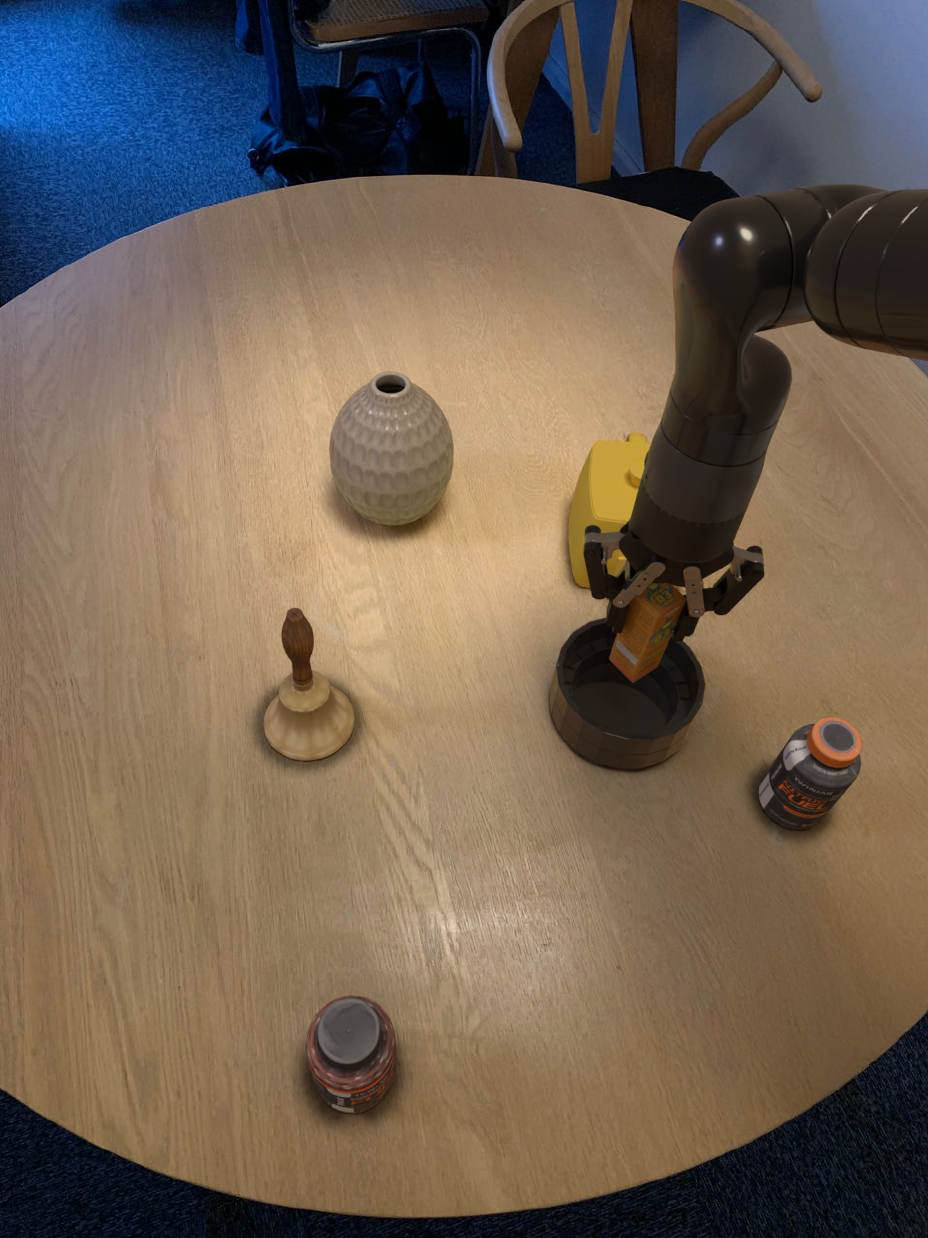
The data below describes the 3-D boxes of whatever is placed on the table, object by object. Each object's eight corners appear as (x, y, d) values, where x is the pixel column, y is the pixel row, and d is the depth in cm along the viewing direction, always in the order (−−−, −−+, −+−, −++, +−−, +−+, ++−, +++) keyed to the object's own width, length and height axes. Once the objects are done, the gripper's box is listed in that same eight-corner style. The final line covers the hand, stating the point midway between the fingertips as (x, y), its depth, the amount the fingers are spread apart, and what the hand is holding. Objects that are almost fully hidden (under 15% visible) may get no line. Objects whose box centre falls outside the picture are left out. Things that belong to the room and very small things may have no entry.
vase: (426, 453, 108) (428, 330, 94) (469, 531, 101) (478, 410, 87) (319, 480, 104) (306, 356, 91) (356, 562, 97) (347, 441, 84)
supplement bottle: (359, 1135, 66) (351, 1104, 57) (297, 1078, 68) (279, 1040, 59) (413, 1062, 69) (413, 1022, 60) (351, 1010, 71) (343, 963, 62)
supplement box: (634, 687, 80) (657, 616, 72) (607, 660, 82) (627, 588, 74) (662, 668, 81) (688, 597, 74) (635, 642, 83) (658, 569, 75)
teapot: (686, 634, 94) (717, 557, 84) (563, 622, 94) (580, 543, 84) (676, 492, 106) (702, 411, 96) (567, 482, 106) (583, 400, 97)
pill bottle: (752, 819, 82) (795, 756, 73) (761, 762, 85) (803, 696, 76) (821, 840, 81) (873, 780, 72) (827, 782, 84) (877, 717, 75)
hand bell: (278, 677, 88) (256, 568, 76) (363, 691, 88) (356, 583, 75) (252, 753, 83) (224, 650, 71) (343, 768, 83) (331, 667, 70)
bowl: (717, 723, 88) (735, 688, 83) (615, 799, 82) (628, 767, 77) (620, 631, 94) (632, 594, 89) (520, 697, 88) (526, 661, 83)
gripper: (591, 506, 62) (558, 654, 75) (808, 533, 61) (735, 677, 75) (596, 431, 66) (564, 583, 80) (797, 455, 66) (731, 605, 79)
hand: (647, 628), depth 77 cm, fingers closed on supplement box, 4 cm apart
